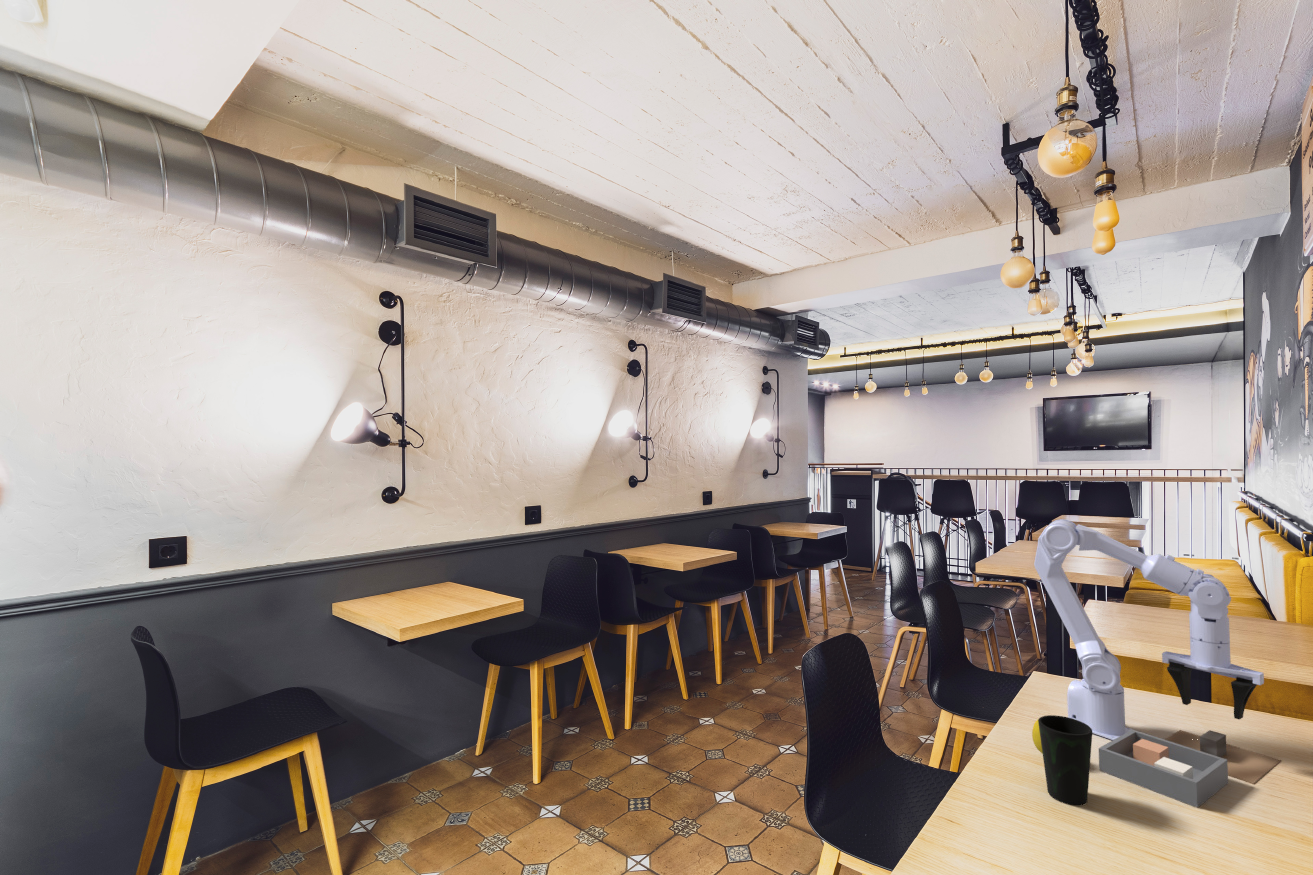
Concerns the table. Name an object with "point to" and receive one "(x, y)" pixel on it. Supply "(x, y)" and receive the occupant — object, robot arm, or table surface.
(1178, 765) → the offwhite block
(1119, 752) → the box
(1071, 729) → the cup
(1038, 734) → the lemon
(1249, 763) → the lid
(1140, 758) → the terracotta block
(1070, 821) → the table surface
